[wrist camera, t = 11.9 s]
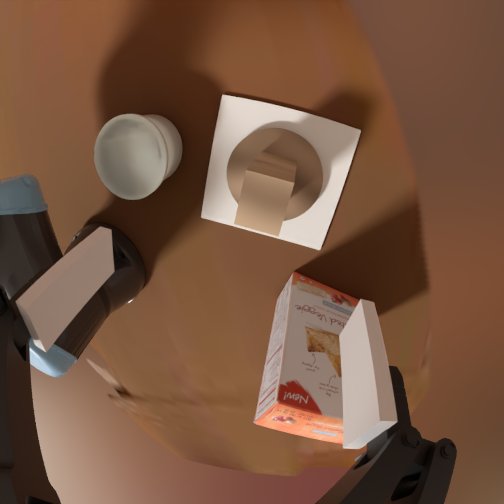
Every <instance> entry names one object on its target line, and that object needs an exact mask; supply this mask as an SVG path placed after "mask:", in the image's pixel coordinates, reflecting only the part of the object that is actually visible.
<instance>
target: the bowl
mask: <svg viewBox="0 0 504 504" xmlns="http://www.w3.org/2000/svg"><path fill="white" fill-rule="evenodd" d="M182 150H183V149H182V140H181V137H180V134H179V132H178V130H177V128H176V127H175V126H174V124H173V123H172V122H170V121H169V120H168V119H166V118H165V117H163V116H160V115H155V114H149V115H139V114H124V115H119V116H116V117H114V118H113V119H111V120H110V121H108V122H107V123H106V124H105V125H104V127H103V128H102V129H101V131H100V132H99V135H98V137H97V140H96V143H95V148H94V160H95V166H96V170H97V173H98V175H99V177H100V179H101V181H102V182H103V184H104V185H105V186H106V187H107V188H108V189H109V190H110V191H111V192H112V193H113V194H115V195H117V196H119V197H121V198H124V199H128V200H137V199H142V198H144V197H146V196H148V195H150V194H151V193H153V192H154V191H155V190H156V189H157V188H158V187H159V186H160V185H161V183H162V181H163V180H165V179H166V178H168V177H170V176H171V175H172V174H173V173H174V172H175V171H176V169H177V168H178V166H179V164H180V161H181V158H182Z"/></svg>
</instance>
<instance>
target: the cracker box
mask: <svg viewBox="0 0 504 504" xmlns="http://www.w3.org/2000/svg"><path fill="white" fill-rule="evenodd" d="M359 301H360V300H358V299H356V298H353V297H351V296H349V295H347V294H344V293H342V292H340V291H338V290H335V289H333V288H331V287H328V286H326V285H324V284H322V283H319V282H317V281H315V280H313V279H310V278H308V277H306V276H304V275H301V274H299V273H297V272H293V274H292V275H291V277H290V278H289V280H288V282H287V283H286V285H285V287H284V289H283V290H282V292H281V293H280V295H279V297H278V298H277V303H276V308H275V314H274V319H273V324H272V330H271V335H270V341H269V346H268V351H267V357H266V362H265V367H264V372H263V377H262V383H261V388H260V393H259V398H258V403H257V408H256V413H255V418H254V423H255V424H257V425H261V426H264V427H268V428H272V429H275V430H279V431H283V432H287V433H292V434H296V435H300V436H305V437H309V438H314V439H319V440H324V441H329V442H335V443H341V444H343V394H342V371H341V355H340V341H339V335H340V334H341V332H342V330H343V329H344V327H345V325H346V324H347V322H348V320H349V319H350V317H351V315H352V313H353V312H354V310H355V308H356V306H357V305H358V303H359ZM366 445H367V444H366ZM364 446H365V445H364Z"/></svg>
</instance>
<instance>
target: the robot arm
mask: <svg viewBox="0 0 504 504" xmlns="http://www.w3.org/2000/svg"><path fill="white" fill-rule="evenodd" d="M47 209H48V205H47V204H46V203H45V201H44V198H43V194H42V191H41V188H40V185H39V182H38V180H37V179H36V178H35V177H34V176H33V175H30V174H22V175H18V176H14V177H10V178H7V179H3V180H0V504H61V503H60V500H59V497H58V495H57V493H56V491H55V489H54V488H53V487H52V486H51V484H50V482H49V480H48V477H47V473H46V470H45V466H44V462H43V458H42V454H41V450H40V445H39V440H38V434H37V429H36V422H35V416H34V408H33V399H32V389H31V375H30V364H32V365H33V366H34V367H36V368H37V369H39V370H40V371H42V372H44V373H46V374H48V375H50V376H53V377H61V376H63V375H65V374H66V373H67V371H68V370H69V369H70V368H71V366H72V365H73V364H74V363H75V362H77V360H78V358H79V357H80V355H81V354H82V352H83V350H84V349H85V347H86V346H87V345H88V344H89V342H90V341H91V339H92V338H93V336H94V335H95V334H96V332H97V331H98V329H99V328H100V327H101V325H102V324H103V322H104V321H105V320H106V318H107V317H108V316H109V314H110V313H112V312H114V311H115V310H117V309H119V308H120V307H122V306H123V305H125V304H127V303H129V302H131V301H133V300H134V299H135V298H136V297H137V295H138V294H139V293H140V291H141V290H142V288H143V286H144V284H145V268H144V264H143V261H142V259H141V257H140V254H139V253H138V251H137V249H136V248H135V246H134V245H133V244H132V242H131V241H130V240H129V239H128V238H127V237H126V236H125V235H124V234H123V233H121V232H120V231H119V230H117V229H116V228H114V227H112V226H110V225H107V224H104V223H92V224H89V225H87V226H85V227H84V228H83V229H81V230H80V231H79V232H78V233H77V234H76V235H75V236H74V238H73V240H72V242H71V244H70V245H69V247H68V248H67V250H66V252H65V254H64V255H62V252H61V250H60V247H59V244H58V241H57V239H56V236H55V233H54V230H53V227H52V224H51V221H50V218H49V214H48V211H47ZM339 341H340V355H341V371H342V394H343V448H348V449H360V448H361V447H363V446H364V445H366V444H367V451H366V452H364V453H363V454H361V455H359V456H358V457H356V458H355V460H357V462H356V463H355V464H354V465H353V466H352V467H351V468H350V470H349V471H348V472H347V473H346V474H345V475H344V476H343V477H342V478H341V479H340V480H339V481H338V482H337V483H336V484H335V485H334V486H333V487H332V488H331V489H330V490H329V491H328V492H327V493H326V494H325V495H324V496H323V497H322V498H321V499H320V500H319V501H317V503H315V504H444V501H445V498H446V495H447V492H448V488H449V485H450V481H451V477H452V473H453V469H454V465H455V460H456V453H457V450H456V446H455V444H454V443H453V442H452V441H451V440H450V439H447V438H443V439H441V440H439V441H438V442H436V443H434V442H432V441H429V440H426V439H423V438H422V437H421V435H420V433H419V432H418V430H417V429H416V428H414V427H412V426H411V421H410V415H409V409H408V403H407V397H406V396H405V395H406V392H405V388H404V382H403V377H402V375H401V373H400V371H399V370H398V368H397V367H395V366H389V365H388V360H387V355H386V350H385V346H384V341H383V337H382V332H381V328H380V324H379V320H378V316H377V312H376V308H375V304H374V302H371V301H367V300H363V299H360V301H359V303H358V305H357V306H356V308H355V310H354V312H353V313H352V315H351V317H350V319H349V320H348V322H347V324H346V325H345V327H344V329H343V330H342V332H341V334H340V335H339Z"/></svg>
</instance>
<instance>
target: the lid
mask: <svg viewBox="0 0 504 504" xmlns="http://www.w3.org/2000/svg"><path fill="white" fill-rule="evenodd" d="M226 172H227V183H228V187H229V190H230V192H231V194H232V196H233V198H234V199H235V201H236V202H237V203H238V208H237V213H236V217H235V222H234V224H236V225H239V226H243V227H246V228H250V229H254V230H257V231H261V232H264V233H268V234H271V235H275V236H279V233H280V230H281V227H282V223H283V221H287V220H291V219H294V218H296V217H298V216H300V215H302V214H304V213H305V212H306V211H308V210H309V209H310V208H311V207H312V206H313V204H314V203H315V202H316V200H317V198H318V197H319V194H320V192H321V189H322V185H323V170H322V165H321V162H320V159H319V156H318V154H317V152H316V151H315V149H314V148H313V146H312V145H311V144H310V143H309V142H308V141H307V140H306V139H304V138H303V137H302V136H300V135H299V134H296V133H294V132H292V131H289V130H286V129H281V128H267V129H263V130H259V131H256V132H254V133H252V134H250V135H248V136H247V137H246V138H244V139H243V140H242V141H241V142H239V143H238V145H237V146H236V147H235V148H234V150H233V151H232V153H231V155H230V158H229V160H228V164H227V171H226Z"/></svg>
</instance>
